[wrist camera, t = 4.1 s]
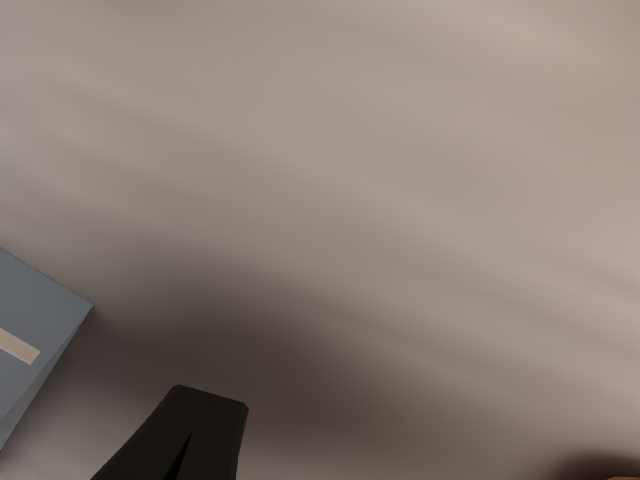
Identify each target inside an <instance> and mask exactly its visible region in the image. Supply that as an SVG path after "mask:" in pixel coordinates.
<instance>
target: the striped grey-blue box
mask: <svg viewBox="0 0 640 480" xmlns="http://www.w3.org/2000/svg"><path fill="white" fill-rule="evenodd" d="M92 307H93V304H91V303H89V302H88V301H86V300H84V299H83V298H81V297H79V296H78V295H76V294H75V293H73V292H71V291H70V290H68V289H66V288H65V287H63V286H62V285H60V284H58V283H57V282H55V281H53V280H52V279H50V278H49V277H47V276H45V275H44V274H42V273H40V272H39V271H37V270H35V269H34V268H32V267H31V266H29V265H27V264H26V263H24V262H22V261H21V260H19V259H18V258H16V257H14V256H13V255H11V254H9V253H8V252H6V251H4V250H3V249H1V248H0V450H1V449H2V447H3V446H4V444H5V443H6V441H7V439H8V438H9V436H10V435H11V433H12V432H13V430H14V428H15V427H16V425H17V424H18V422H19V421H20V419H21V418H22V416H23V414H24V413H25V411H26V410H27V408H28V407H29V405H30V403H31V402H32V400H33V399H34V397H35V396H36V394H37V393H38V391H39V389H40V388H41V386H42V385H43V383H44V382H45V380H46V378H47V377H48V375H49V374H50V372H51V371H52V369H53V368H54V366H55V364H56V363H57V361H58V360H59V358H60V357H61V355H62V353H63V352H64V350H65V349H66V347H67V346H68V344H69V343H70V341H71V339H72V338H73V336H74V335H75V333H76V332H77V330H78V328H79V327H80V325H81V324H82V322H83V321H84V319H85V318H86V316H87V314H88V313H89V311H90V310H91V308H92Z"/></svg>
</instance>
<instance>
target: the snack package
mask: <svg viewBox="0 0 640 480" xmlns="http://www.w3.org/2000/svg"><path fill="white" fill-rule="evenodd" d="M608 480H640V477H613V478H610V479H608Z"/></svg>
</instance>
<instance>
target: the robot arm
mask: <svg viewBox="0 0 640 480" xmlns="http://www.w3.org/2000/svg"><path fill="white" fill-rule="evenodd" d="M248 411H249V408H248V407H247V406H246V404H245V403H243V402H240V401H236V400H232V399H229V398H225V397H222V396H218V395H215V394H211V393H207V392H204V391H200V390H197V389H193V388H190V387H186V386H182V385H177V386H174V387H172V388H171V390H170V391H169V392H168V394H167V395H166V396H165V398H164V399H163V400H162V402H161V403H160V404H159V405H158V406H157V408H156V409H155V410H154V411H153V413H152V414H151V415H150V416H149V417H148V418H147V420H146V421H145V422H144V423H143V424H142V425H141V426H140V428H139V429H138V430H137V431H136V432H135V433H134V434H133V435H132V436H131V437H130V439H129V440H128V441H127V442H126V443H125V444H124V445H123V446H122V447H121V448H120V449H119V450H118V451H117V452H116V453H115V454H114V456H113V457H112V458H111V459H110V460H109V461H108V462H107V463H106V464H105V465H104V466H103V467H102V468H101V469H100V470H99V471H98V472H97V473H96V474H95V475H94V476H93V477H92V478H91V479H90V480H236V472H237V463H238V455H239V451H240V446H241V442H242V438H243V433H244V429H245V424H246V420H247V415H248Z"/></svg>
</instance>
